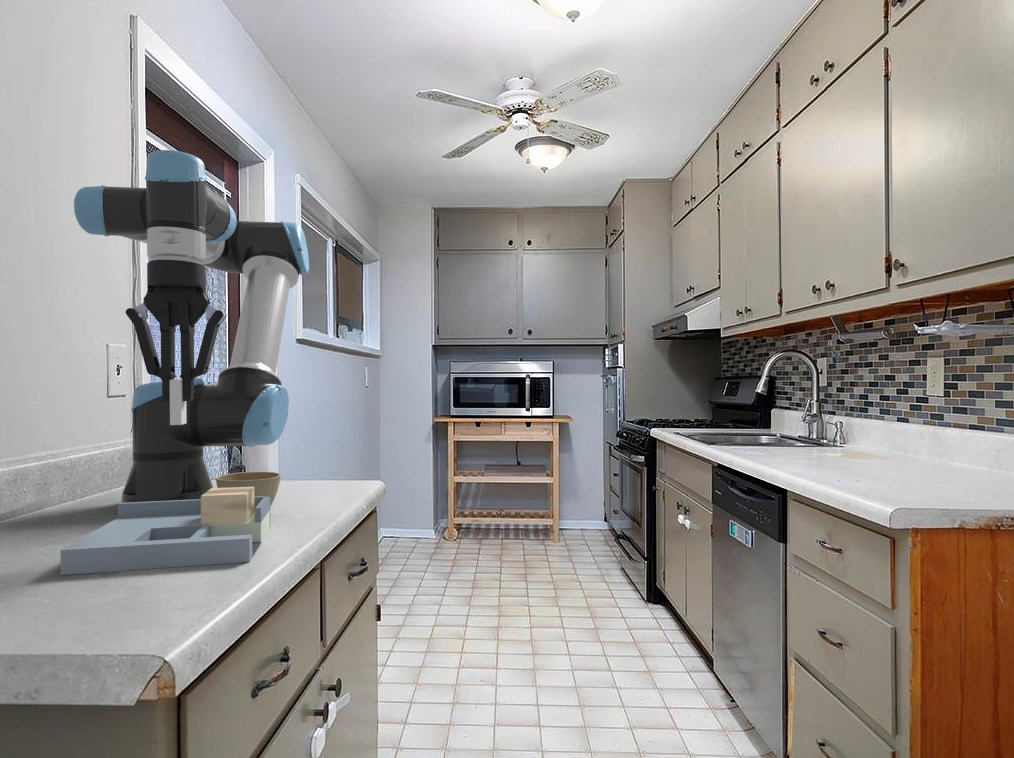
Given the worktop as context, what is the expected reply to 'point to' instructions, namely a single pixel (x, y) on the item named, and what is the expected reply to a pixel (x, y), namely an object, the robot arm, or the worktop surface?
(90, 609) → the worktop surface
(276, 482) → the tan bowl
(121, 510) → the tray
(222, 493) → the block
